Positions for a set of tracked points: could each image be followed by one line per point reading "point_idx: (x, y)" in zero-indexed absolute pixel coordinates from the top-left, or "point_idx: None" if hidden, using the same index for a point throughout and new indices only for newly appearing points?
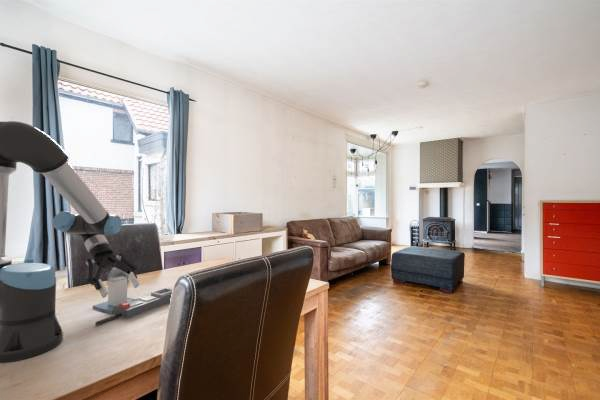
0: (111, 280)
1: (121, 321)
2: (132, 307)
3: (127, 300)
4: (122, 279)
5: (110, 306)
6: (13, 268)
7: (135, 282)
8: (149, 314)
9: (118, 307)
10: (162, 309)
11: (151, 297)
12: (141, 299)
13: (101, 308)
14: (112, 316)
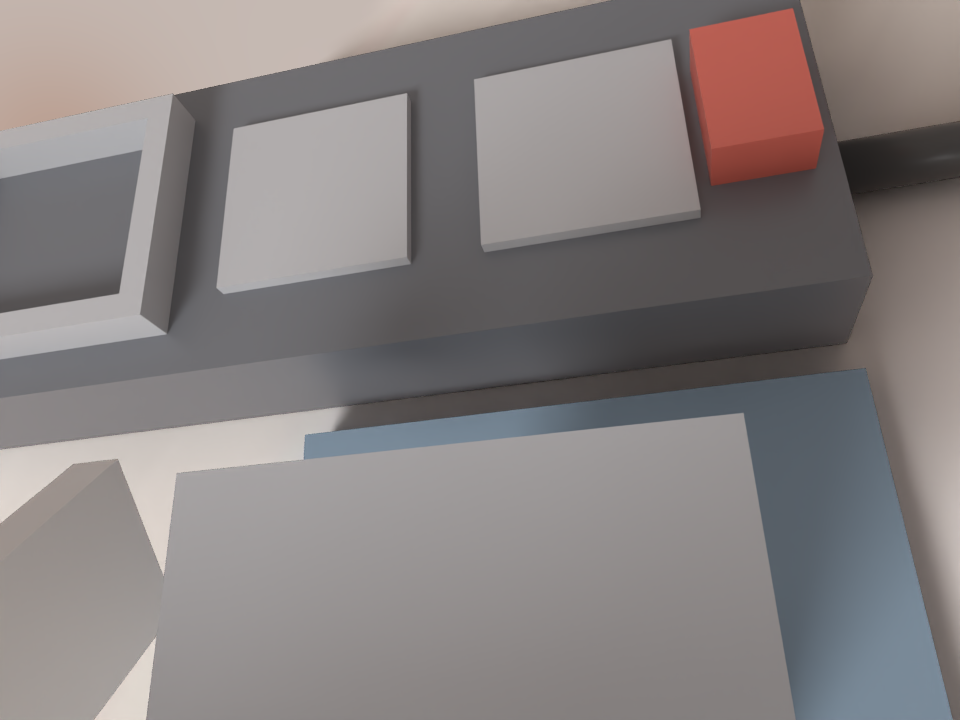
0: (786, 670)
1: (870, 33)
2: (680, 15)
3: None
4: (388, 470)
5: None
6: None
7: (70, 557)
8: (533, 11)
9: (830, 161)
10: (355, 46)
11: (272, 174)
12: (406, 203)
13: (950, 711)
14: (955, 125)
